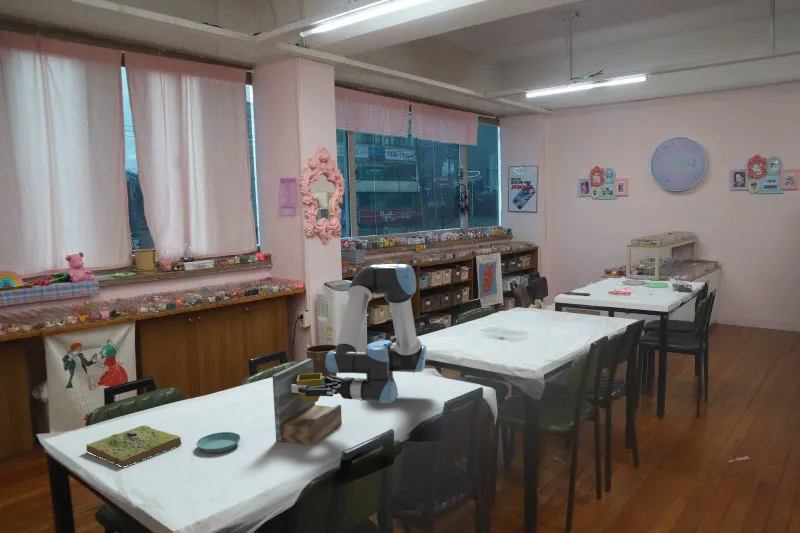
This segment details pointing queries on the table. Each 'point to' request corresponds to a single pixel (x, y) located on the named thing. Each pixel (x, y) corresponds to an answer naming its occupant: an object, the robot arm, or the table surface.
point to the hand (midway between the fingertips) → (300, 383)
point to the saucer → (218, 442)
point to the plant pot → (320, 358)
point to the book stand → (300, 409)
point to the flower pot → (309, 385)
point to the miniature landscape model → (133, 445)
